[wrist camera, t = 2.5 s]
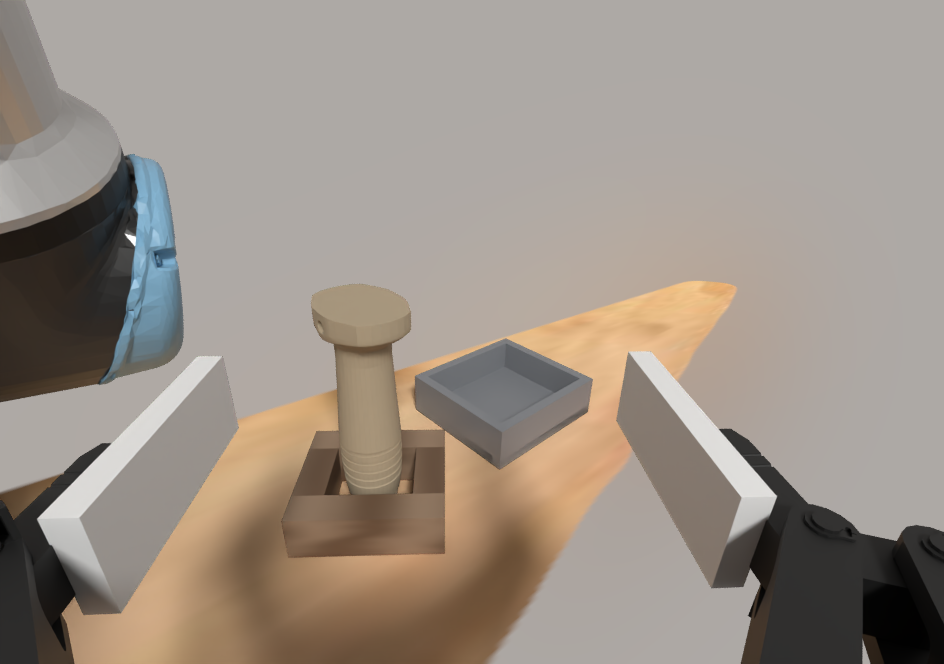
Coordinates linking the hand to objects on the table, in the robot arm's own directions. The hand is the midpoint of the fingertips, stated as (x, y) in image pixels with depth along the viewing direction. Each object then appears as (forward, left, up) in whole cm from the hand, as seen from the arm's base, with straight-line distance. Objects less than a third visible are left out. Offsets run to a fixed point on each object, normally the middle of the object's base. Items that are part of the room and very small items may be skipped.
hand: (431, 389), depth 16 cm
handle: (-4, +12, -17) cm, 21 cm away
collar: (-4, +12, -17) cm, 21 cm away
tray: (+6, +23, -17) cm, 29 cm away
